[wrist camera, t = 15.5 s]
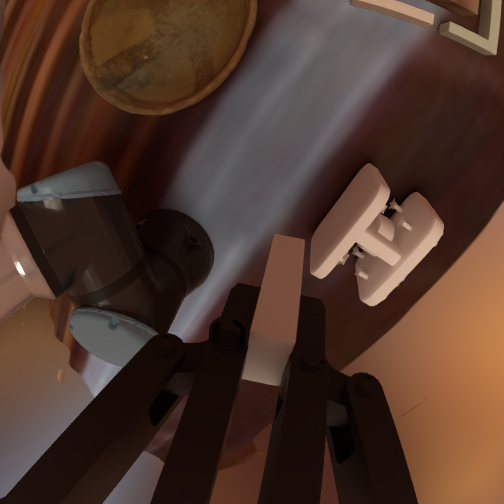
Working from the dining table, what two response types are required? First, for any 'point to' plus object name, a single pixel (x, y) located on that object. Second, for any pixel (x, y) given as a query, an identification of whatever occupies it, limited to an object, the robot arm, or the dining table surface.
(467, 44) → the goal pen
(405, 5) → the channel
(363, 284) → the cable organizer
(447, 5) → the block
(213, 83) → the bowl
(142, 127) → the dining table surface
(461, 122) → the dining table surface
